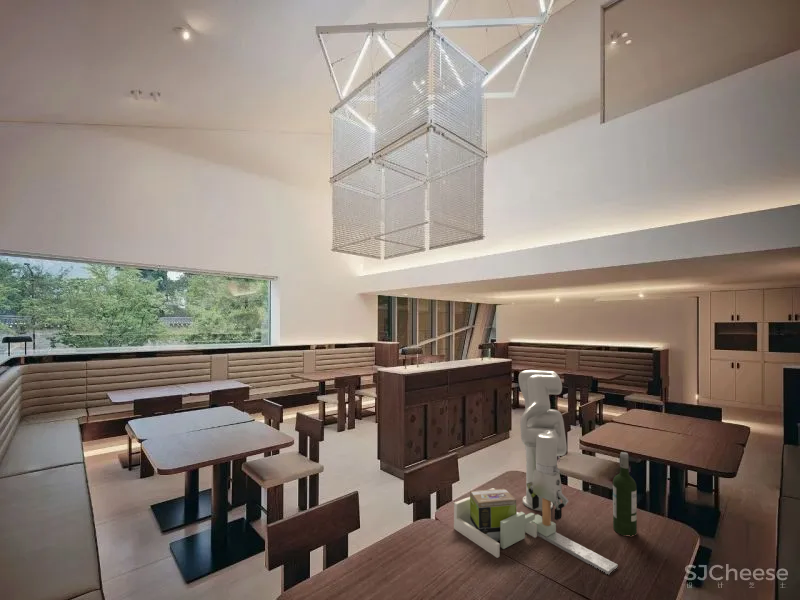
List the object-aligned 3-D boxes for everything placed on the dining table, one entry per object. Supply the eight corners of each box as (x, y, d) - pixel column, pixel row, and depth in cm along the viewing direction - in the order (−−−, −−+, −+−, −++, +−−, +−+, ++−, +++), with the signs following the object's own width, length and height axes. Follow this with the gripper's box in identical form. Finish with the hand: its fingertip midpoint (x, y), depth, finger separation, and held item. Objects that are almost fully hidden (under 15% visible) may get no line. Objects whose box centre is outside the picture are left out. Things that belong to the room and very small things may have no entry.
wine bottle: (640, 538, 144) (639, 457, 145) (617, 535, 145) (616, 456, 146) (632, 527, 151) (631, 450, 152) (610, 524, 153) (609, 448, 154)
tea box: (505, 525, 152) (505, 487, 152) (517, 540, 142) (517, 499, 142) (469, 528, 149) (469, 489, 150) (478, 543, 139) (478, 502, 140)
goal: (492, 512, 162) (492, 488, 162) (536, 536, 144) (536, 509, 144) (453, 528, 149) (454, 502, 149) (497, 557, 131) (497, 528, 131)
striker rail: (517, 515, 159) (517, 512, 159) (617, 568, 127) (617, 564, 127) (508, 519, 156) (508, 516, 156) (608, 575, 123) (608, 571, 123)
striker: (537, 524, 152) (537, 488, 152) (555, 534, 145) (555, 496, 146) (497, 544, 138) (497, 505, 138) (515, 556, 131) (515, 515, 132)
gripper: (573, 473, 141) (573, 520, 140) (533, 458, 155) (532, 501, 154) (561, 478, 137) (561, 527, 136) (521, 462, 151) (521, 506, 150)
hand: (546, 513), depth 145 cm, fingers open, 9 cm apart
